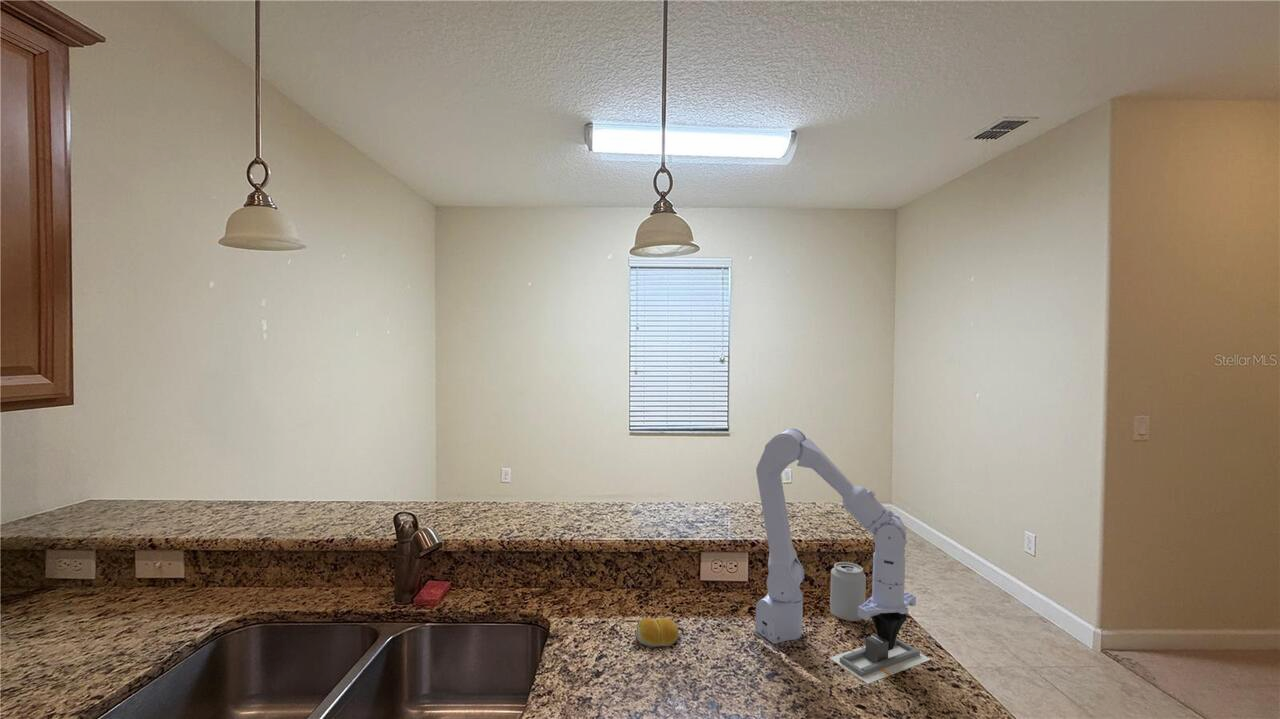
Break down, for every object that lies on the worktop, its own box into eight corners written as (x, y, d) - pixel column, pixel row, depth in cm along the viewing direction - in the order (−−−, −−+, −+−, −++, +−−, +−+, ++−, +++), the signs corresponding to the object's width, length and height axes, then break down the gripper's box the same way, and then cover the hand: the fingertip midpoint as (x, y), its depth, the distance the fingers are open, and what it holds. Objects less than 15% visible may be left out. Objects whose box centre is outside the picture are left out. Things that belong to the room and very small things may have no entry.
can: (858, 611, 126) (860, 560, 126) (869, 627, 119) (870, 574, 118) (826, 609, 127) (827, 558, 127) (834, 625, 119) (836, 571, 119)
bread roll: (682, 647, 109) (683, 627, 109) (639, 650, 108) (640, 630, 108) (673, 626, 118) (673, 608, 117) (633, 629, 116) (633, 610, 116)
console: (867, 690, 96) (867, 678, 96) (829, 663, 104) (829, 652, 104) (931, 665, 104) (931, 654, 104) (890, 642, 112) (891, 632, 112)
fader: (877, 665, 102) (878, 644, 102) (865, 657, 104) (865, 637, 104) (887, 661, 103) (888, 640, 103) (875, 654, 106) (876, 633, 106)
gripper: (880, 594, 98) (878, 667, 98) (930, 580, 105) (928, 648, 105) (849, 579, 104) (847, 648, 104) (898, 567, 111) (896, 631, 111)
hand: (886, 647), depth 105 cm, fingers closed
